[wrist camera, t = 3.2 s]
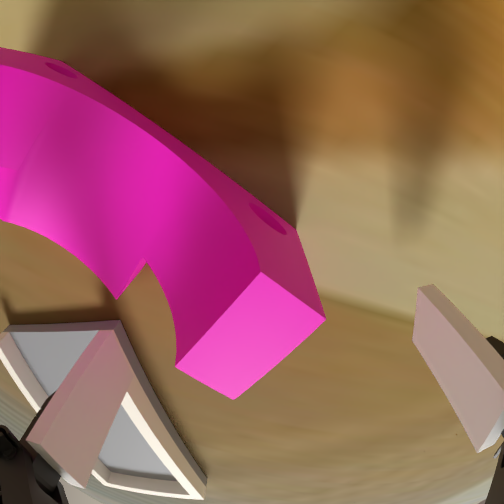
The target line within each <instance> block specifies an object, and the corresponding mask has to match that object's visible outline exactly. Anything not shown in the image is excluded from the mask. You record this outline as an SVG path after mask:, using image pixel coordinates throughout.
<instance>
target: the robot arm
mask: <svg viewBox="0 0 504 504" xmlns="http://www.w3.org/2000/svg"><path fill="white" fill-rule="evenodd" d="M412 341H413V343H414V344H415V346H416V347H417V349H418V351H419V352H420V354H421V355H422V357H423V358H424V360H425V362H426V363H427V365H428V366H429V368H430V370H431V371H432V373H433V375H434V376H435V378H436V380H437V381H438V383H439V385H440V386H441V388H442V390H443V391H444V393H445V395H446V397H447V398H448V400H449V402H450V404H451V405H452V407H453V409H454V411H455V412H456V414H457V416H458V418H459V420H460V422H461V423H462V425H463V427H464V429H465V431H466V433H467V435H468V437H469V438H470V440H471V442H472V444H473V446H474V448H475V450H476V452H477V453H478V452H480V451H482V450H484V449H486V448H488V447H490V446H492V445H494V444H495V442H496V441H497V439H498V438H499V436H500V435H501V434H502V436H503V437H504V343H503V342H502V341H500V340H498V339H496V338H494V337H493V336H491V337H488V338H486V339H485V338H484V336H483V335H482V334H481V333H480V332H479V331H478V330H477V329H476V328H475V327H474V326H473V324H472V323H471V322H470V321H469V320H468V319H467V318H466V317H465V316H464V315H463V314H462V313H461V312H460V311H459V310H458V309H457V308H456V307H455V306H454V304H453V303H452V302H451V301H450V300H449V299H448V298H447V297H446V296H445V295H444V294H443V293H442V292H441V291H440V290H439V289H438V288H437V287H436V286H434V285H433V284H431V285H427V286H423V287H418V293H417V304H416V314H415V323H414V331H413V338H412ZM133 377H134V376H133V374H132V372H131V370H130V369H129V367H128V365H127V362H126V360H125V358H124V356H123V354H122V352H121V350H120V348H119V346H118V344H117V341H116V339H115V337H114V335H113V333H112V331H98V332H97V334H96V335H95V336H94V338H93V339H92V341H91V342H90V343H89V345H88V346H87V348H86V349H85V350H84V352H83V353H82V355H81V356H80V357H79V359H78V360H77V362H76V363H75V364H74V366H73V367H72V369H71V370H70V372H69V373H68V375H67V376H66V377H65V379H64V380H63V382H62V383H61V385H60V386H59V388H58V389H57V391H55V392H54V393H53V394H51V395H50V396H49V397H48V398H47V399H46V400H45V402H44V403H43V405H42V406H41V410H39V411H38V413H37V414H36V416H35V417H34V419H33V420H32V422H31V424H30V425H29V427H28V428H27V430H26V432H25V433H24V435H23V437H22V438H21V440H20V441H18V439H17V438H16V437H15V436H14V435H13V434H12V433H11V431H10V430H9V429H8V428H7V427H6V426H4V425H0V504H69V503H68V500H67V497H66V495H65V491H64V488H63V486H62V484H61V483H60V482H59V479H60V477H62V478H64V479H65V480H66V481H67V482H68V483H69V484H71V485H74V486H77V487H81V488H84V489H85V488H86V485H87V483H88V480H89V478H90V475H91V473H92V470H93V468H94V465H95V463H96V460H97V458H98V456H99V453H100V451H101V449H102V446H103V444H104V442H105V439H106V437H107V435H108V432H109V430H110V428H111V425H112V423H113V421H114V419H115V416H116V414H117V412H118V410H119V407H120V405H121V403H122V401H123V399H124V396H125V394H126V392H127V390H128V388H129V386H130V384H131V381H132V379H133ZM499 453H500V455H499ZM498 455H499V459H498V463H497V467H496V470H495V474H494V477H493V481H492V484H491V487H490V490H489V493H488V496H487V499H486V502H485V504H504V442H503V443H502V444H501V446H500V447H499V449H498V450H497V452H496V453H495V455H494V457H493V458H496V457H497V456H498Z"/></svg>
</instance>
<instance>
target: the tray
mask: <svg viewBox="0 0 504 504" xmlns="http://www.w3.org/2000/svg"><path fill="white" fill-rule="evenodd" d="M98 331H112V333H113V335H114V337H115V339H116V341H117V344H118V346H119V348H120V350H121V352H122V354H123V356H124V358H125V360H126V362H127V365H128V367H129V369H130V370H131V372H132V374H133V376H134V377H133V379H132V381H131V384H130V386H129V388H128V390H127V392H126V394H125V396H124V399H123V401H122V403H121V405H120V407H119V410H118V412H117V414H116V416H115V419H114V421H113V423H112V425H111V428H110V430H109V432H108V435H107V437H106V439H105V442H104V444H103V446H102V449H101V451H100V453H99V456H98V458H97V460H96V463H95V465H94V468H93V470H92V474H93V475H94V476H95V477H96V478H97V479H98V480H99V481H100V482H101V483H102V484H103V485H105V486H109V487H113V488H118V489H123V490H128V491H133V492H139V493H145V494H152V495H159V496H167V497H176V498H186V499H200V500H204V498H205V491H206V484H207V478H206V476H205V475H204V473H203V472H202V470H201V469H200V468H199V466H198V465H197V463H196V462H195V460H194V459H193V457H192V455H191V454H190V452H189V451H188V449H187V448H186V446H185V444H184V443H183V441H182V440H181V438H180V436H179V435H178V433H177V431H176V430H175V428H174V426H173V425H172V423H171V421H170V420H169V418H168V416H167V414H166V413H165V411H164V409H163V407H162V405H161V404H160V402H159V400H158V398H157V396H156V394H155V392H154V391H153V389H152V387H151V385H150V383H149V381H148V379H147V377H146V375H145V373H144V371H143V369H142V367H141V365H140V363H139V361H138V359H137V357H136V354H135V352H134V350H133V348H132V346H131V344H130V341H129V339H128V337H127V335H126V332H125V330H124V328H123V325H122V323H121V321H120V320H111V321H96V322H79V323H59V324H32V325H9V326H8V327H7V328H6V329H5V330H4V331H3V332H2V333H1V334H0V359H1V360H2V362H3V364H4V365H5V367H6V369H7V370H8V372H9V373H10V375H11V376H12V378H13V380H14V381H15V383H16V384H17V386H18V387H19V388H20V390H21V391H22V393H23V394H24V396H25V397H26V398H27V400H28V401H29V403H30V404H31V405H32V407H33V408H34V409H35V411H36V412H37V413H38V411H39V410H41V406H42V405H43V403H44V402H45V400H46V399H47V398H48V397H49V396H50V395H51V394H53V393H54V392H55V391H57V389H58V388H59V386H60V385H61V383H62V382H63V380H64V379H65V377H66V376H67V375H68V373H69V372H70V370H71V369H72V367H73V366H74V364H75V363H76V362H77V360H78V359H79V357H80V356H81V355H82V353H83V352H84V350H85V349H86V348H87V346H88V345H89V343H90V342H91V341H92V339H93V338H94V336H95V335H96V334H97V332H98Z"/></svg>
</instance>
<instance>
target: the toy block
mask: <svg viewBox="0 0 504 504" xmlns="http://www.w3.org/2000/svg"><path fill="white" fill-rule="evenodd" d="M0 219H1V220H2V221H5V222H9V223H13V224H16V225H19V226H22V227H25V228H27V229H30V230H32V231H35V232H37V233H39V234H41V235H43V236H45V237H47V238H49V239H50V240H52V241H54V242H56V243H57V244H59V245H60V246H62V247H63V248H65V249H66V250H68V251H69V252H70V253H72V254H73V255H75V256H76V257H77V258H78V259H79V260H81V261H82V262H83V263H84V264H85V265H86V266H87V267H88V268H90V269H91V270H92V271H93V272H94V273H95V274H96V275H97V277H98V278H99V279H100V280H101V281H102V282H103V283H104V284H105V286H106V287H107V288H108V289H109V291H110V292H111V293H112V295H113V296H114V297H115V299H116V300H117V299H118V298H119V296H120V295H121V294H122V293H123V291H124V290H125V289H126V288H127V286H128V285H129V284H130V283H131V282H132V280H133V279H134V278H135V277H136V275H137V274H138V273H139V272H140V271H141V269H142V268H143V267H144V265H145V264H146V262H147V263H148V265H149V266H150V268H151V269H152V271H153V272H154V274H155V276H156V277H157V279H158V281H159V283H160V285H161V287H162V289H163V291H164V293H165V296H166V298H167V300H168V303H169V306H170V309H171V312H172V316H173V320H174V325H175V332H176V349H177V353H176V362H175V367H176V368H178V369H179V370H181V371H183V372H184V373H186V374H188V375H190V376H191V377H193V378H195V379H196V380H198V381H200V382H202V383H203V384H205V385H207V386H209V387H211V388H212V389H214V390H216V391H218V392H220V393H222V394H223V395H225V396H227V397H229V398H231V399H233V400H234V399H236V398H237V397H238V396H239V395H241V394H242V393H243V392H244V391H246V390H247V389H248V388H249V387H251V386H252V385H253V384H254V383H255V382H257V381H258V380H259V379H260V378H261V377H263V376H264V375H265V374H266V373H267V372H269V371H270V370H271V369H272V368H273V367H274V366H276V365H277V364H278V363H279V362H280V361H281V360H282V359H284V358H285V357H286V356H287V355H288V354H289V353H290V352H291V351H293V350H294V349H295V348H296V347H297V346H298V345H299V344H300V343H301V342H302V341H304V340H305V339H306V338H307V337H308V336H309V335H310V334H311V333H312V332H313V331H314V330H315V329H316V328H318V327H319V326H320V325H321V324H322V323H323V322H324V321H325V320H326V317H325V314H324V311H323V307H322V304H321V301H320V298H319V295H318V292H317V289H316V286H315V283H314V280H313V277H312V274H311V271H310V268H309V265H308V262H307V259H306V256H305V253H304V251H303V248H302V245H301V242H300V239H299V236H298V233H297V231H296V229H295V228H293V227H292V226H291V225H290V224H288V223H287V222H286V221H285V220H283V219H282V218H281V217H280V216H278V215H277V214H276V213H274V212H273V211H272V210H271V209H269V208H268V207H267V206H266V205H264V204H263V203H262V202H260V201H259V200H258V199H257V198H255V197H254V196H253V195H251V194H250V193H249V192H248V191H246V190H245V189H244V188H242V187H241V186H240V185H238V184H237V183H236V182H234V181H233V180H232V179H231V178H229V177H228V176H227V175H225V174H224V173H223V172H221V171H220V170H219V169H217V168H216V167H215V166H213V165H212V164H211V163H209V162H208V161H206V160H205V159H204V158H202V157H201V156H200V155H198V154H197V153H196V152H194V151H193V150H192V149H190V148H189V147H187V146H186V145H185V144H183V143H182V142H180V141H179V140H178V139H176V138H175V137H174V136H172V135H171V134H169V133H168V132H167V131H165V130H164V129H162V128H161V127H159V126H158V125H157V124H155V123H154V122H152V121H151V120H150V119H148V118H147V117H145V116H144V115H142V114H141V113H139V112H138V111H137V110H135V109H134V108H132V107H131V106H129V105H128V104H126V103H125V102H123V101H122V100H120V99H119V98H117V97H116V96H115V95H113V94H112V93H110V92H109V91H107V90H106V89H104V88H103V87H101V86H99V85H98V84H96V83H95V82H93V81H92V80H90V79H89V78H87V77H86V76H84V75H83V74H81V73H80V72H78V71H76V70H75V69H73V68H72V67H70V66H69V65H67V64H65V63H64V62H62V61H59V60H56V59H52V58H48V57H44V56H39V55H35V54H31V53H26V52H21V51H17V50H12V49H6V48H1V47H0Z"/></svg>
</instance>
